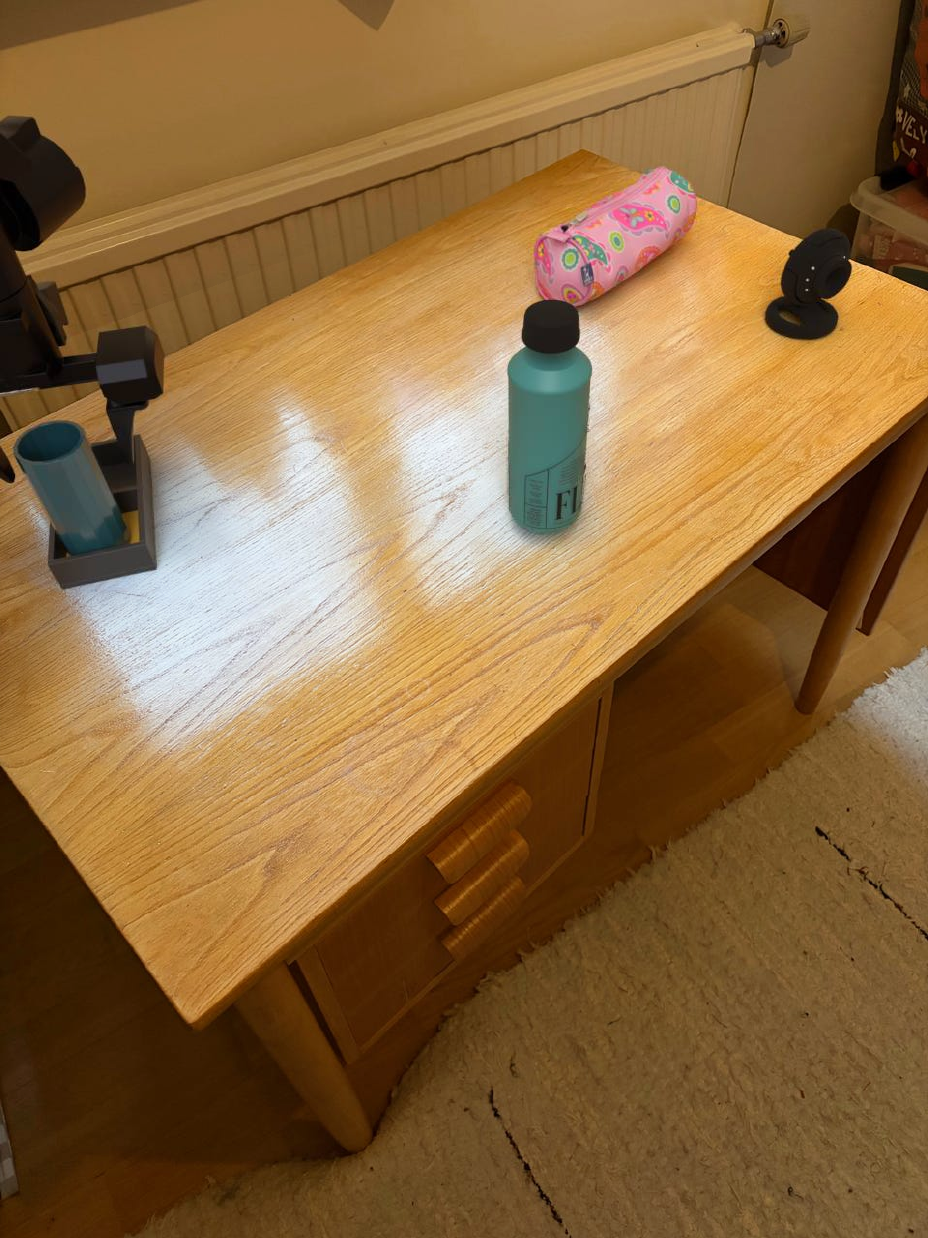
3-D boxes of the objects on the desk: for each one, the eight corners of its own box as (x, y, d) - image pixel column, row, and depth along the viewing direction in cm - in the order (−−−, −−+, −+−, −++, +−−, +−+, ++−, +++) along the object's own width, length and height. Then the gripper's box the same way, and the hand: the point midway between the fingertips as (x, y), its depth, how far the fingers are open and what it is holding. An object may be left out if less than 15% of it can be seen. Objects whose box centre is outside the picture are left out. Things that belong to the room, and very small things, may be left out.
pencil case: (583, 325, 95) (589, 245, 88) (520, 296, 100) (522, 217, 93) (697, 251, 105) (710, 173, 98) (635, 227, 109) (644, 151, 102)
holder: (156, 569, 74) (145, 544, 72) (61, 589, 73) (47, 564, 71) (150, 458, 83) (140, 433, 81) (65, 475, 82) (53, 450, 80)
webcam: (795, 349, 91) (822, 256, 83) (748, 315, 95) (769, 225, 88) (852, 327, 93) (883, 235, 86) (804, 296, 98) (829, 205, 90)
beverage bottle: (555, 559, 73) (567, 348, 58) (490, 527, 76) (486, 317, 60) (596, 515, 76) (618, 303, 61) (533, 486, 79) (539, 277, 64)
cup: (55, 556, 74) (-3, 454, 66) (95, 516, 77) (45, 413, 69) (105, 573, 73) (53, 471, 64) (144, 531, 76) (99, 428, 68)
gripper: (131, 212, 63) (191, 392, 75) (-139, 247, 62) (-34, 426, 74) (124, 290, 56) (191, 476, 68) (-181, 333, 55) (-57, 516, 67)
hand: (72, 470), depth 69 cm, fingers open, 9 cm apart
